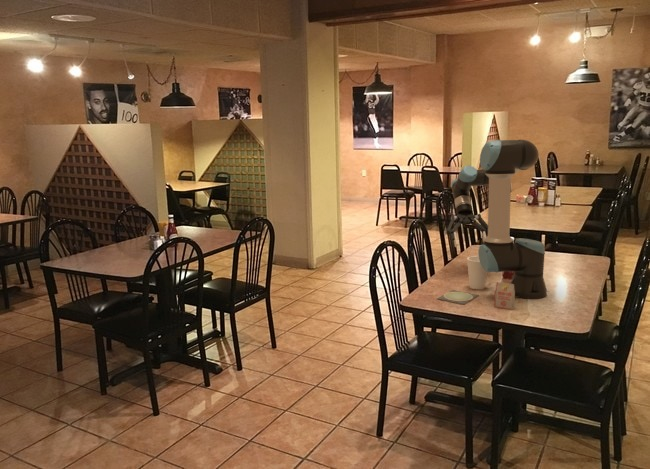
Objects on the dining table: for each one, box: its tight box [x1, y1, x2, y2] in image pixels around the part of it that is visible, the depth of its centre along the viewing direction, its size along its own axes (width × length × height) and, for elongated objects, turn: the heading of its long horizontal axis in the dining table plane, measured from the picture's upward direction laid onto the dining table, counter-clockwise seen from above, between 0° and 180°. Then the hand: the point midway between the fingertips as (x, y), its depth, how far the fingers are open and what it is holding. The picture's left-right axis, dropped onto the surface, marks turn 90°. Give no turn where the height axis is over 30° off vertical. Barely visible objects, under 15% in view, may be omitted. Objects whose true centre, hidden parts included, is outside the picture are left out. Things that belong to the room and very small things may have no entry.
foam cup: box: [466, 255, 488, 290], centre depth 250 cm, size 10×9×13 cm
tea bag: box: [493, 281, 516, 311], centre depth 225 cm, size 4×7×10 cm, turn 56°
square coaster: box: [436, 289, 480, 306], centre depth 238 cm, size 12×14×1 cm
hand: (471, 245), depth 260 cm, fingers open, 13 cm apart
